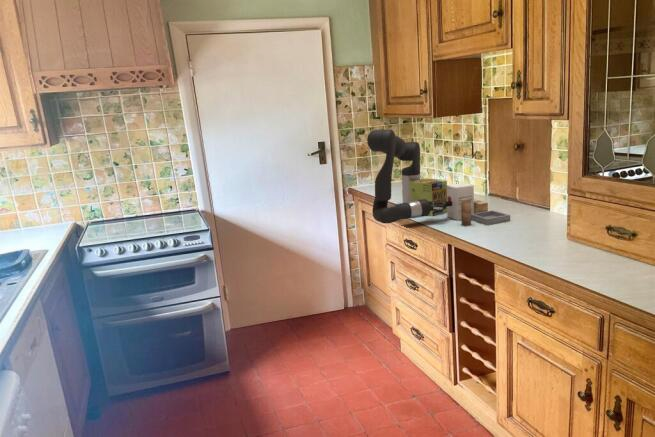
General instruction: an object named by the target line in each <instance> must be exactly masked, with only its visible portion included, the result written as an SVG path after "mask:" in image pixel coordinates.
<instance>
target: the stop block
mask: <svg viewBox="0 0 655 437" xmlns="http://www.w3.org/2000/svg"><path fill="white" fill-rule="evenodd" d="M485 211H489V204H488V202H487V201H482V200H478V199H475V198H474V213H480V212H485Z"/></svg>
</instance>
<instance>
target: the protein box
mask: <svg viewBox="0 0 655 437" xmlns="http://www.w3.org/2000/svg"><path fill="white" fill-rule="evenodd" d="M409 184H410V201H416V200H422V199H426V200H427V201H440V202H441V201H443V202H445V201H447V185H448V180H446V179H437V178H427V177H424V178H420V179H418V180H412V181H409ZM441 214H447V207H446V209H444V210H443V211H439V210H436V211H434V212H432V211H430V214H429V215H428V216H431V217H433V216H439V215H441Z"/></svg>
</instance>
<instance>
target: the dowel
mask: <svg viewBox="0 0 655 437" xmlns="http://www.w3.org/2000/svg"><path fill="white" fill-rule="evenodd" d="M460 221H461V226H463V227H470V226H472V220H471V199H461V220H460Z"/></svg>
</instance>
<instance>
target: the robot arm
mask: <svg viewBox="0 0 655 437" xmlns="http://www.w3.org/2000/svg"><path fill="white" fill-rule="evenodd" d="M366 138H367V139H366V141H367V146H368V148H369V150H370V151H372V152H376V153H377V152H378V153H383V154H384V155H385V159H384V162H383V164H382V166H381V168H380V169H379V171H378V173H377V176H376V177H375V180H374V200H373V204H372V212H371V214H372V216H373V219H374V220H375V221H376V222H379V223H382V224H392V223H395V222H398V221H402V220H407V219H415V218H423V217H428V216H429V214H430V211H432V212H434V211H436V210H439V211H443V210H444V209H446V207H448V206H452V201H445V202H443V201H441V202H440V201H427V200H426V199H422V200H416V201H410V184H409V181H412V180H418V179H421V147H420V143H419V142H418V141H406V140H404V139H403V138H402V137H400V136H398V135H396V134H395V131H394V130H393V129H390V128H389V129H388V128H387V129H373V130H370V132H369V133H368V135H367V137H366ZM395 158H396V159H398V160H399V161H400V162H401V161H402V162H411V164H410V165H409V166H407V167H404V168H402V169H401V170H400V171H401V172H400V173H401V188H402V189H401V193H402V194H401V195H402V203H398V204H397V203H396V204H395V205H394V206H388V204H389V203H388V202H389V201H390V200H392V179H393V178H392V177H393V170H394V168H393V167H394V161H395Z"/></svg>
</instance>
